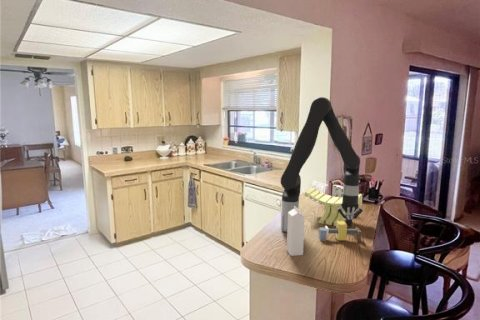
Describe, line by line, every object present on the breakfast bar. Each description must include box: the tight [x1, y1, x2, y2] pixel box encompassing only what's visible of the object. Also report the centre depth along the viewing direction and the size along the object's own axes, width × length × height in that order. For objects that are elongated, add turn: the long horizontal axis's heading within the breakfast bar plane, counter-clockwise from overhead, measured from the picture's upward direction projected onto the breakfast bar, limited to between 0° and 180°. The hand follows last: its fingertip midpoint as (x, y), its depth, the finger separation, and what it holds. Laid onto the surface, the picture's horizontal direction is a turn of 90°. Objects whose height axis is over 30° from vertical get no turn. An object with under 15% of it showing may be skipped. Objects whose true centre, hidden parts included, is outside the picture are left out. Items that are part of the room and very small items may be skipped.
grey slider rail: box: [329, 228, 362, 235], centre depth 155 cm, size 20×2×2 cm, turn 88°
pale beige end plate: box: [324, 225, 330, 237], centre depth 155 cm, size 1×4×4 cm, turn 178°
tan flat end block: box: [353, 226, 363, 243], centre depth 155 cm, size 2×6×6 cm, turn 178°
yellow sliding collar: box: [335, 221, 348, 241], centre depth 155 cm, size 4×5×8 cm
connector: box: [318, 227, 327, 242], centre depth 156 cm, size 3×4×6 cm
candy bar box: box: [331, 184, 344, 198], centre depth 203 cm, size 11×5×16 cm, turn 17°
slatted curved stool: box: [304, 187, 363, 227], centre depth 182 cm, size 30×16×18 cm, turn 58°
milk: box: [286, 206, 305, 257], centre depth 139 cm, size 6×6×22 cm
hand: (348, 225), depth 155 cm, fingers closed
